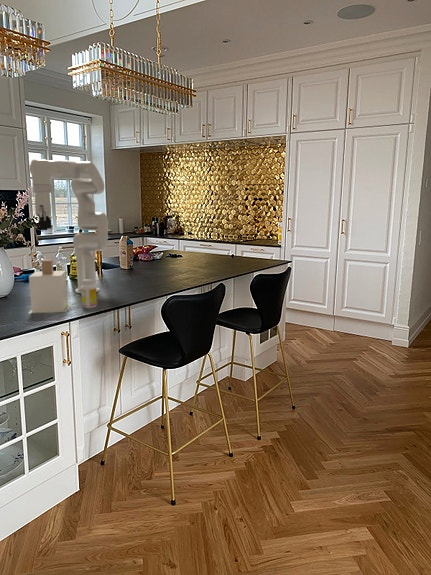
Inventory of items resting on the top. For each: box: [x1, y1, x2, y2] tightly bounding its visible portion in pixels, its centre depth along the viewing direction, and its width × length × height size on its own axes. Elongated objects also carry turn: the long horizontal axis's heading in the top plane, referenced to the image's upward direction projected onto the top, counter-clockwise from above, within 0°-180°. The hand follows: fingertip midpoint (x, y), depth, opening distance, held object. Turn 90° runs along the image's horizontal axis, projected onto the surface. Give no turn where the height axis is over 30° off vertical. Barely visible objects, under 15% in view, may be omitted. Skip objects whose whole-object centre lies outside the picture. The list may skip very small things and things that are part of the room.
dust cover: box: [28, 259, 69, 313], centre depth 198 cm, size 13×13×22 cm
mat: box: [28, 302, 72, 315], centre depth 200 cm, size 16×16×1 cm
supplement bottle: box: [80, 279, 98, 309], centre depth 202 cm, size 7×7×13 cm
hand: (45, 229), depth 193 cm, fingers open, 9 cm apart
